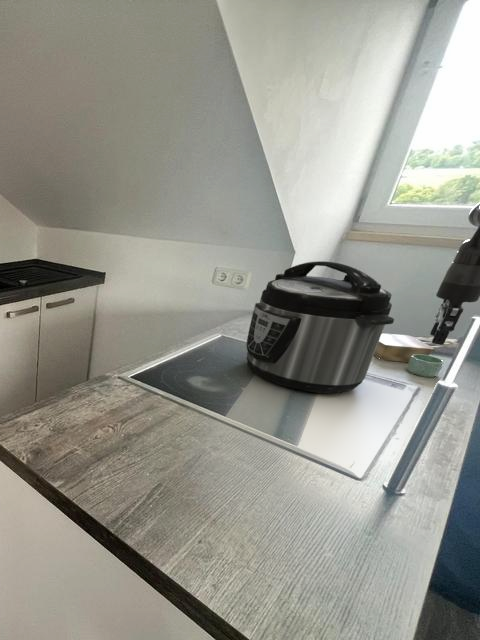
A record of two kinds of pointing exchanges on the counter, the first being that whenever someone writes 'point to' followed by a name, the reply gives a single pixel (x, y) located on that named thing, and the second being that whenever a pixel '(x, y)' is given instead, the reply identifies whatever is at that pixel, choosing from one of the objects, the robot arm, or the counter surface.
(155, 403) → the counter surface
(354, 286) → the pressure cooker
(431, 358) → the bowl
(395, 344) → the riser
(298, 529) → the counter surface
